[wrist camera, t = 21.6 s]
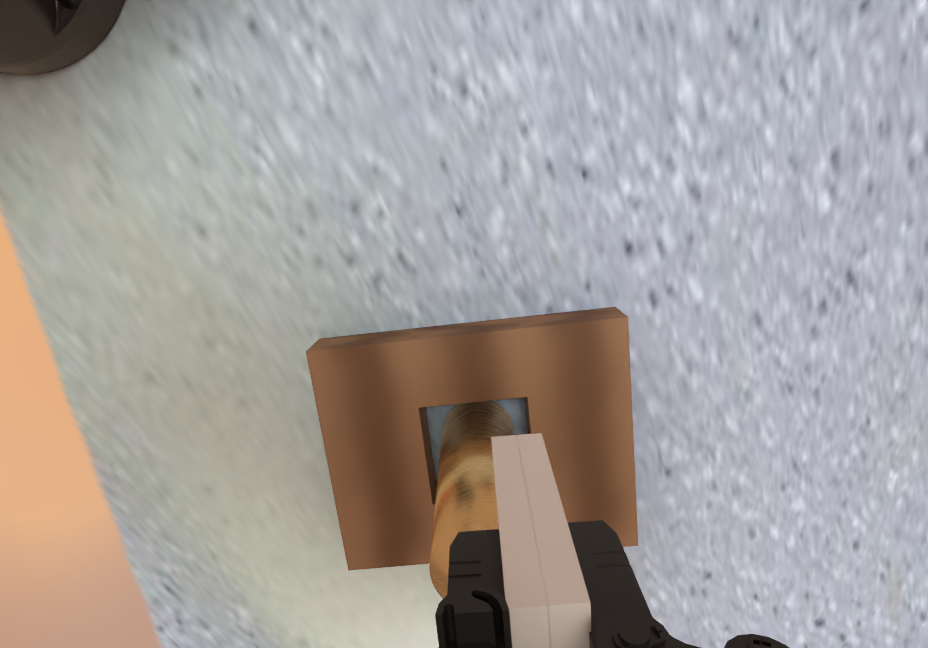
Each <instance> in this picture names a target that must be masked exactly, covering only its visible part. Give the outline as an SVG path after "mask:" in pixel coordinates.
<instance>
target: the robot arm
mask: <svg viewBox="0 0 928 648" xmlns="http://www.w3.org/2000/svg"><path fill="white" fill-rule="evenodd" d="M122 3H123V0H0V72H4V73H11V74H40V73H45V72H50V71H53V70H57V69H60V68H62V67H65V66H67V65H69V64H71V63H73V62H75V61H77V60H78V59H80V58H81V57H83V56H84V55H86V54H87V53H88V52H89V51H91V50H92V49H93V48H94V47H95V46H96V45H97V44H98V43H99V42H100V41H101V40H102V38H103V37H104V36H105V35H106V33H107V32H108V30H109V29H110V27H111V26H112V24H113V22H114V21H115V19H116V17H117V15H118V13H119V10H120V8H121V5H122ZM491 442H492V454H493V466H494V478H495V490H496V502H497V514H498V526H499V529H492V530H478V531H464V532H458V534H457V536H456V537H455V539H454V540H453V542H452V544H451V545H450V550H449V569H448V589H447V595H446V596H445V598H444V599H443V600H442V601H441V602H440V603H439V605H438V608H437V611H436V614H435V617H436V625H437V633H438V641H439V648H700V647H696V646H692V645H689V644H686V643H683V642H681V641H679V640H677V639H675V638H673V637H672V636H670V635H669V633H668V632H667V631H666V629H665V628H664V626H663V625H662V624H660V623H659V622H658V621H656V620H655V619H654V618H653V617H652V615H651V613H650V611H649V608H648V606H647V603H646V601H645V599H644V596H643V594H642V592H641V589H640V587H639V584H638V582H637V580H636V577H635V575H634V573H633V570H632V568H631V565H629V561H628V558H627V556H626V554H625V552H624V549H623V546H622V544H621V542H620V539H619V537H618V535H617V533H616V532H615V531H614V530H613V529H612V528H611V527H610V526H609V525H607V524H606V523H605V522H604V521H603V520H598V521H584V522H570V523H567V520H566V516H565V513H564V509H563V506H562V502H561V499H560V495H559V492H558V488H557V485H556V482H555V478H554V475H553V471H552V468H551V464H550V461H549V457H548V454H547V450H546V447H545V443H544V440H543V437H542V433H536V434H522V435H509V436H496V437H491ZM724 648H789V647H788V646H786V645H785V644H782V643H780V642H778V641H776V640H774V639H772V638H769V637H765V636H760V635H755V634H747V635H738V636H736V637H734V638H733V639H731V640H729V641H727V643H726V645H725V647H724Z"/></svg>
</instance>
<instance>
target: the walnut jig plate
mask: <svg viewBox="0 0 928 648" xmlns="http://www.w3.org/2000/svg"><path fill="white" fill-rule="evenodd" d="M306 354H307V359H308V364H309V369H310V374H311V379H312V385H313V390H314V395H315V400H316V405H317V410H318V415H319V421H320V426H321V431H322V436H323V441H324V446H325V452H326V457H327V462H328V467H329V472H330V477H331V483H332V488H333V493H334V498H335V503H336V508H337V514H338V519H339V524H340V529H341V534H342V539H343V545H344V550H345V555H346V560H347V565H348V570H358V569H370V568H381V567H393V566H405V565H416V564H428V563H430V555H431V544H432V534H433V524H434V513H435V503H436V492H437V482H438V481H436V479H435V472H434V465H433V458H432V451H431V444H430V437H429V430H428V423H427V416H426V409H425V407H432V406H442V405H452V404H462V403H472V402H481V401H491V400H501V399H511V398H521V397H525V402H526V412H527V423H528V433H529V434H536V433H542V437H543V440H544V443H545V447H546V450H547V454H548V457H549V461H550V464H551V468H552V471H553V475H554V478H555V482H556V485H557V488H558V492H559V495H560V499H561V502H562V506H563V509H564V513H565V516H566V520H567V523H570V522H584V521H598V520H603V521H604V522H605V523H606V524H607V525H609V526H610V527H611V528H612V529H613V530H614V531H615V532H616V533H617V535H618V537H619V539H620V542H621V544H622V546H623V547H626V546H637V545H638V532H637V510H636V488H635V465H634V443H633V420H632V398H631V376H630V353H629V331H628V317H627V316H626V315H625V314H623V313H622V312H621V311H620V310H619V309H617V308H616V307H610V308H601V309H591V310H582V311H573V312H563V313H554V314H545V315H536V316H526V317H517V318H508V319H498V320H489V321H480V322H471V323H461V324H452V325H443V326H433V327H424V328H415V329H406V330H396V331H387V332H378V333H368V334H359V335H350V336H341V337H331V338H322V339H319V340H318V341H317V342H316V343H315V344H314V345H312V346H311V347H310V348H309V349H308V350H307V351H306Z"/></svg>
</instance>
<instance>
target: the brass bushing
mask: <svg viewBox="0 0 928 648" xmlns="http://www.w3.org/2000/svg"><path fill="white" fill-rule="evenodd" d="M509 435H515V434H514V429H513V424H512V421H511V418H510V416H509V414H508V413H507V412H506V411H505V409H504V408H503V407H501V406H500V405H499V404H497V403H495V402H493V401H481V402H472V403H462V404H457V405H456V406H455V407H454V408H452V409H451V411H450V412H449V413H448V414H447V416H446V418H445V420H444V423H443V430H442V440H441V450H440V461H439V471H438V482H437V492H436V503H435V513H434V524H433V534H432V544H431V555H430V576H431V580H432V583H433V585H434V587H435V589H436V590H437V592H438V593H439V594H440V596H441V597H442V598H443V599H444V598H445V596H446V595H447V589H448V569H449V550H450V545H451V544H452V542H453V540H454V539H455V537H456V536H457V534H458V532H464V531H478V530H492V529H499V526H498V514H497V502H496V490H495V478H494V466H493V454H492V442H491V437H496V436H509Z"/></svg>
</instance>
